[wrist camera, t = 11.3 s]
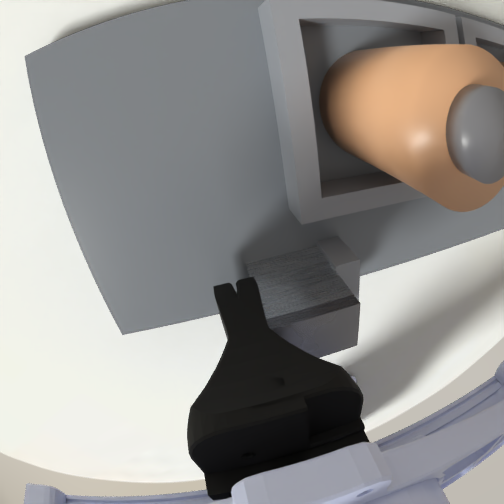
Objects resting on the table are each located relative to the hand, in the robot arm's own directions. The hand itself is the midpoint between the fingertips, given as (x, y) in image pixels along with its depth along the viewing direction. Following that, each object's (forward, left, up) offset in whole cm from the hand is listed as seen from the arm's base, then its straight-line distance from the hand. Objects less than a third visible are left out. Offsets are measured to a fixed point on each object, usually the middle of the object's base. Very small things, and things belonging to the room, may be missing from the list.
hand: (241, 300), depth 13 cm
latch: (0, -2, -1) cm, 2 cm away
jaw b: (+7, -6, -1) cm, 9 cm away
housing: (+5, -6, -2) cm, 8 cm away
